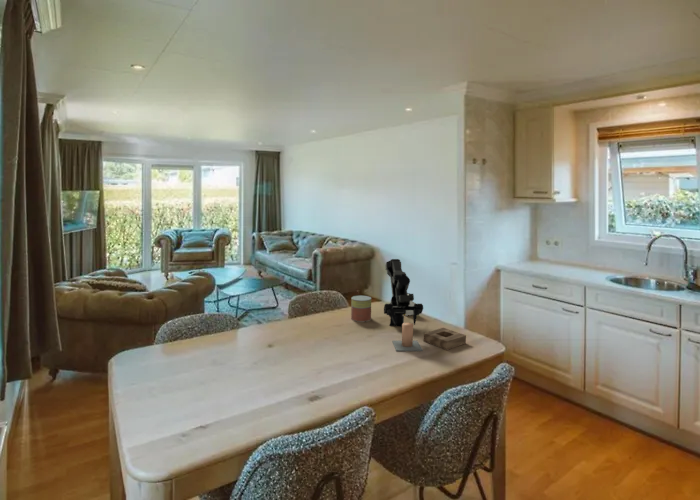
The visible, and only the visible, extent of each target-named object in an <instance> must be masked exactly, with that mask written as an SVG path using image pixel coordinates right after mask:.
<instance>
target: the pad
mask: <svg viewBox="0 0 700 500" xmlns="http://www.w3.org/2000/svg"><path fill="white" fill-rule="evenodd" d="M391 342H392V344H393V346H394V348H395V351H396V352H423V351H424V349H423V348H422V346H421V344H420V342H419V341H418V340H415V339H413V346H411V347H404V346H402V340H392V341H391Z"/></svg>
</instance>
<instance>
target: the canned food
mask: <svg viewBox="0 0 700 500" xmlns="http://www.w3.org/2000/svg"><path fill="white" fill-rule="evenodd" d="M350 298H351V303H350V304H351V307H350V308H351V313H350V317H351V318H350V319H351V320H352V321H353V320H354V322H357V321H358V322H359V323H364V322H365V321H366V322H369V321H371V320H372V297H371V296H368V295H353V296H351V297H350ZM366 322H365V323H366Z"/></svg>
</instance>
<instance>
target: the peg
mask: <svg viewBox="0 0 700 500" xmlns="http://www.w3.org/2000/svg"><path fill="white" fill-rule="evenodd" d="M413 340H414V323H412V322H404V323H403V324H402V326H401V341H402V346H404V347H411V346H413Z"/></svg>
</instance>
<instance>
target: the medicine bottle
mask: <svg viewBox="0 0 700 500" xmlns="http://www.w3.org/2000/svg"><path fill="white" fill-rule="evenodd" d="M409 294H411V293H408V292H407V295H409ZM414 304H417V303H416V302H415V301H410V305H409V306H414ZM413 313H414V312H413V310H406V314H405V315H404V314H403V316H404V317H407V316H408V315H409V316H413Z"/></svg>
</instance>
